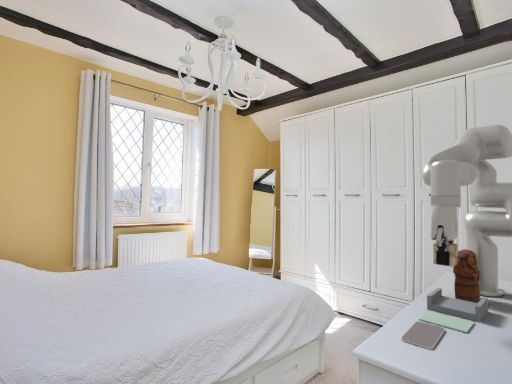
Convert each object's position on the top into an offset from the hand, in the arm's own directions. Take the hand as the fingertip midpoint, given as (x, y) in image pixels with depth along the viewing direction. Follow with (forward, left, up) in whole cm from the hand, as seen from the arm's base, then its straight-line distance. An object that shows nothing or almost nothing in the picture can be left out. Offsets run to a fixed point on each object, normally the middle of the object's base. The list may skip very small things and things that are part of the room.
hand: (445, 262), depth 88 cm
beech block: (0, 0, 0) cm, 0 cm away
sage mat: (0, 0, -17) cm, 17 cm away
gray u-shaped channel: (-13, 0, -17) cm, 22 cm away
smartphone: (+14, -2, -18) cm, 23 cm away
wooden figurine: (-28, 0, -18) cm, 33 cm away
